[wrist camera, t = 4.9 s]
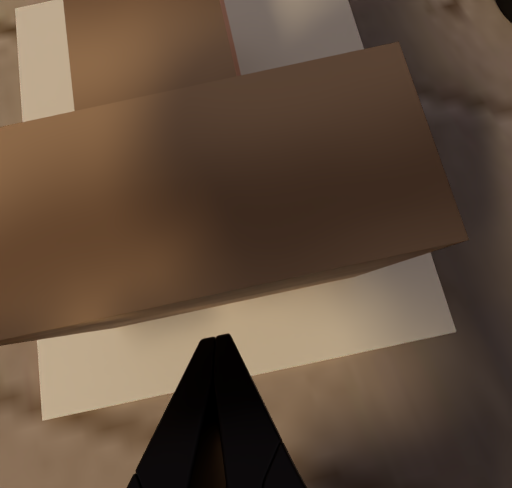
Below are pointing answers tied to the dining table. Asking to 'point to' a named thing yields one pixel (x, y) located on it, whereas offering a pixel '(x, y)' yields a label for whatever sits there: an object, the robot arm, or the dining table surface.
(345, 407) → the dining table surface
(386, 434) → the dining table surface
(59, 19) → the mat
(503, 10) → the mug
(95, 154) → the t block
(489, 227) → the dining table surface
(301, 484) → the robot arm
